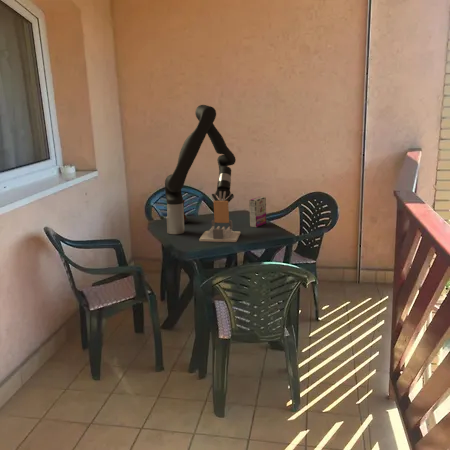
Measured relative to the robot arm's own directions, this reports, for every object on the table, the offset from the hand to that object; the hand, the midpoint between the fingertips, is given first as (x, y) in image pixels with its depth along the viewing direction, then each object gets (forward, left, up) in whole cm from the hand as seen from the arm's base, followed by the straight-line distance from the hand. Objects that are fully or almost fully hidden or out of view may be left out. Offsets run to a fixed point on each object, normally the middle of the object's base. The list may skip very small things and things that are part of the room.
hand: (221, 208), depth 274 cm
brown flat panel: (0, 0, -8) cm, 8 cm away
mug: (-33, +28, -15) cm, 46 cm away
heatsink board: (0, -6, -15) cm, 16 cm away
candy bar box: (+18, +22, -15) cm, 32 cm away
